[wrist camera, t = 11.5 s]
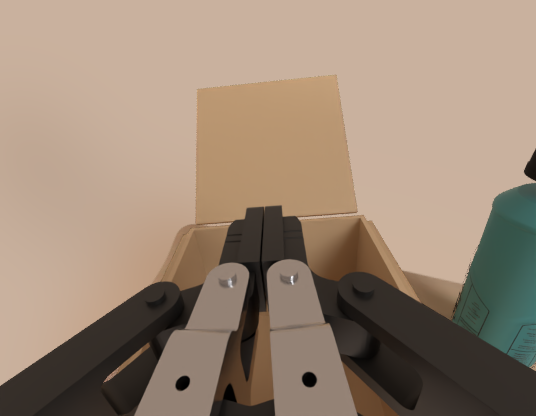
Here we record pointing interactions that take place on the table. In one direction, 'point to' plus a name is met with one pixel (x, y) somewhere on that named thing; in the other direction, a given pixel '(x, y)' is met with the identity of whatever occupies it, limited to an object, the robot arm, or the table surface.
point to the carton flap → (272, 150)
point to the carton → (321, 263)
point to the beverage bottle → (505, 276)
